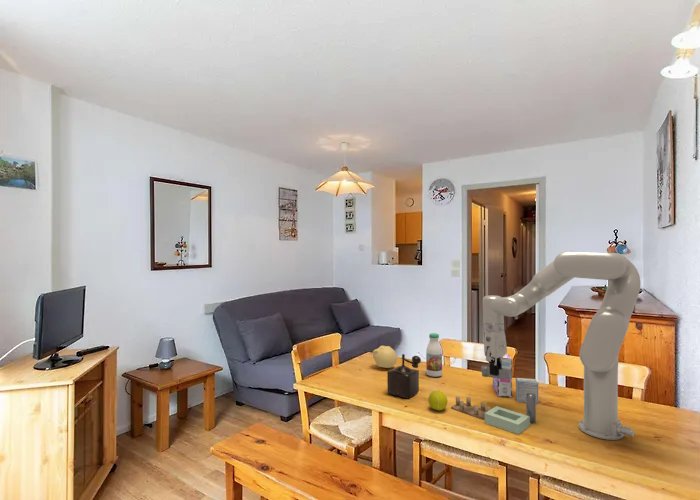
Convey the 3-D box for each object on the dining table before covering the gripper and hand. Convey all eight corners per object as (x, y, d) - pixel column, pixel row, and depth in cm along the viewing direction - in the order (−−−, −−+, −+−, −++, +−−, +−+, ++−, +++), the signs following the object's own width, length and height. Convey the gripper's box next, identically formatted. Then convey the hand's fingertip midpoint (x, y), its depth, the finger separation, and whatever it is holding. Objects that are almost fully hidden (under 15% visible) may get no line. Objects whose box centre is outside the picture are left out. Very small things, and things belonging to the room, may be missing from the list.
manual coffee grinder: (385, 393, 163) (385, 351, 163) (398, 386, 172) (398, 346, 171) (418, 402, 153) (418, 357, 153) (430, 393, 162) (430, 351, 162)
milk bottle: (423, 372, 190) (423, 332, 190) (437, 371, 192) (436, 331, 192) (431, 377, 182) (431, 336, 182) (445, 376, 185) (445, 335, 185)
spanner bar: (512, 378, 146) (511, 368, 146) (508, 380, 143) (507, 370, 144) (484, 374, 154) (483, 365, 155) (480, 376, 152) (479, 367, 152)
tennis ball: (438, 415, 142) (438, 396, 142) (424, 408, 147) (424, 390, 147) (451, 410, 146) (450, 392, 146) (436, 404, 151) (436, 386, 151)
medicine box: (536, 400, 155) (536, 379, 155) (538, 404, 151) (538, 382, 151) (515, 398, 157) (515, 377, 157) (517, 402, 153) (517, 381, 153)
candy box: (512, 397, 157) (512, 358, 157) (497, 396, 159) (497, 357, 158) (505, 386, 171) (505, 349, 171) (492, 385, 172) (491, 349, 172)
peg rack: (494, 414, 142) (494, 404, 142) (484, 420, 137) (484, 410, 137) (460, 403, 152) (460, 394, 152) (451, 408, 147) (451, 399, 147)
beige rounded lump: (385, 361, 209) (385, 342, 209) (401, 367, 199) (401, 346, 199) (369, 365, 202) (369, 345, 202) (385, 371, 192) (385, 350, 192)
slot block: (529, 426, 132) (529, 416, 132) (518, 435, 126) (518, 424, 126) (496, 415, 141) (496, 406, 141) (484, 423, 135) (484, 413, 135)
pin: (537, 422, 135) (537, 394, 135) (533, 425, 133) (533, 396, 133) (528, 419, 137) (528, 392, 137) (525, 422, 135) (524, 394, 135)
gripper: (493, 331, 141) (495, 381, 141) (512, 325, 152) (514, 371, 152) (474, 329, 147) (476, 377, 146) (494, 323, 158) (496, 367, 157)
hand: (495, 373), depth 149 cm, fingers closed on spanner bar, 2 cm apart
